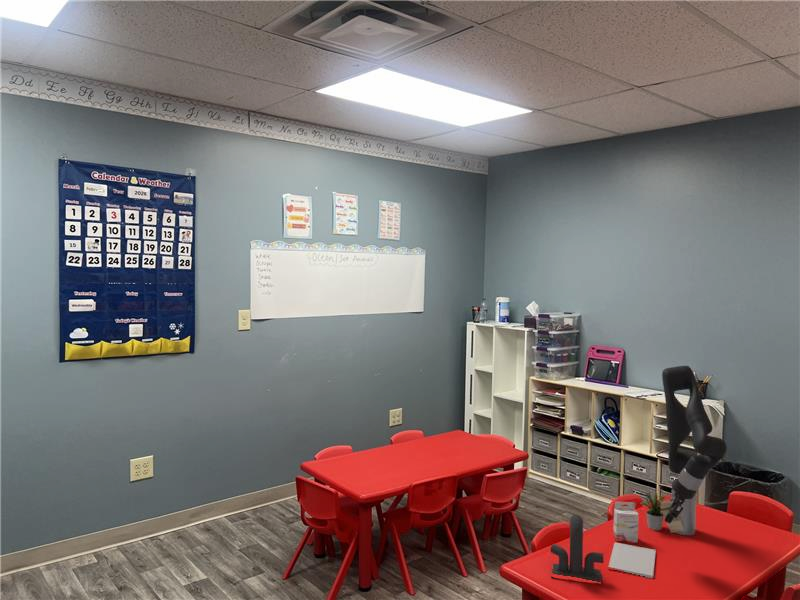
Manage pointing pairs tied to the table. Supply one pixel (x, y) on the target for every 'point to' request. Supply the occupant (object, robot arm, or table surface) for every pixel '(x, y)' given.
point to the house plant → (654, 511)
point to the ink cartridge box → (625, 522)
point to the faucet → (577, 555)
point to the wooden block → (676, 522)
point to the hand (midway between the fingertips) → (667, 517)
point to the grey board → (633, 559)
